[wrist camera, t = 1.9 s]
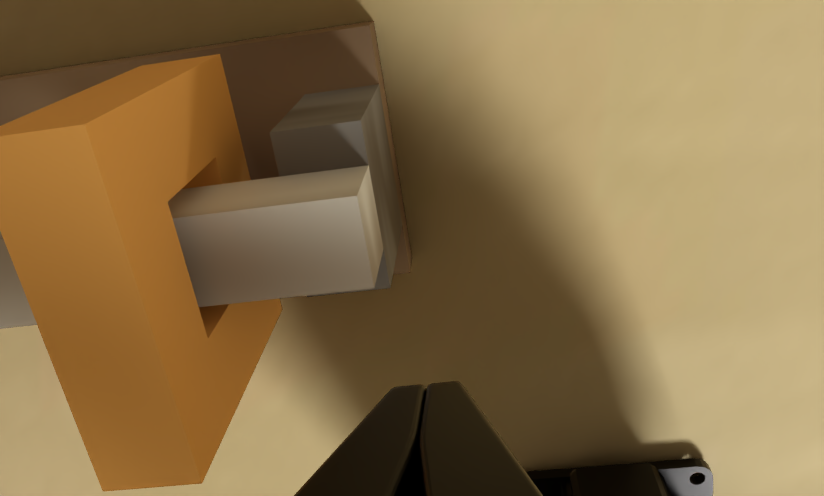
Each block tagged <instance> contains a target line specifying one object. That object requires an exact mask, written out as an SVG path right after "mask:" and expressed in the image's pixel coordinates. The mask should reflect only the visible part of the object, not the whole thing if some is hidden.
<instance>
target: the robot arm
mask: <svg viewBox="0 0 824 496" xmlns="http://www.w3.org/2000/svg"><path fill="white" fill-rule="evenodd" d="M697 472H698V473H700V474H699V475H698V476H694V477H693V476H691V475H692V474H694V473H697ZM294 496H713V475H712V472H711V470H710V468H709V465H708V464H707V463H706V462H705V461H703V460H701V459H681V460H669V461H656V462H643V463H630V464H618V465H605V466H592V467H580V468H567V469H554V470H541V471H529V472H525V470H524V469H523V468H522V466H521V465H520V463H519V462H518V461H517V459H516V458H515V457H514V455H513V454H512V452H511V451H510V450H509V448H508V447H507V445H506V444H505V443H504V441H503V440H502V439H501V437H500V436H499V434H498V433H497V432H496V430H495V429H494V428H493V426H492V425H491V423H490V422H489V421H488V419H487V418H486V417H485V415H484V414H483V412H482V411H481V410H480V408H479V407H478V405H477V404H476V403H475V401H474V400H473V399H472V397H471V396H470V394H469V393H468V392H467V390H466V389H465V388H464V386H463V385H462V384H461V383H460V382H458V381H453V382H442V383H432V384H430V385H429V386H428V387H427V389H426V387H425V386H423V385H411V386H400V387H394V388H392V389H391V390H390V391H389V392H388V393H387V394H386V395H385V396H384V398H383V399H382V400H381V401H380V402H379V403H378V404H377V405H376V406H375V407H374V409H373V410H372V411H371V412H370V413H369V414H368V415H367V416H366V417H365V418H364V420H363V421H362V422H361V423H360V424H359V425H358V426H357V427H356V428H355V429H354V430H353V432H352V433H351V434H350V435H349V436H348V437H347V438H346V439H345V440H344V441H343V443H342V444H341V445H340V446H339V447H338V448H337V449H336V450H335V451H334V452H333V453H332V455H331V456H330V457H329V458H328V459H327V460H326V461H325V462H324V463H323V464H322V466H321V467H320V468H319V469H318V470H317V471H316V472H315V473H314V474H313V475H312V476H311V478H310V479H309V480H308V481H307V482H306V483H305V484H304V485H303V486H302V487H301V489H300V490H299V491H298V492H297V493H296V494H295V495H294Z"/></svg>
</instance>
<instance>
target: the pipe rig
mask: <svg viewBox="0 0 824 496" xmlns="http://www.w3.org/2000/svg"><path fill="white" fill-rule="evenodd" d="M216 54H220V56H221V60H222V64H223V68H224V72H225V76H226V81H227V85H228V89H229V93H230V97H231V101H232V105H233V109H234V113H235V117H236V121H237V126H238V130H239V134H240V138H241V142H242V146H243V150H244V154H245V158H246V162H247V166H248V171H249V175H250V179H251V180H249V181H241V182H233V183H225V184H218V185H210V186H202V187H194V188H186V189H181V190H180V191H179V192H178V193H177V194H176V195H175V196H174V197H172V198H171V199H170V200H169V201H168V205H169V208H170V212H171V215H172V218H173V222H174V225H175V229H176V232H177V235H178V239H179V242H180V246H181V249H182V252H183V256H184V259H185V263H186V266H187V269H188V273H189V276H190V280H191V283H192V286H193V290H194V293H195V297H196V300H197V303H198V307H205V306H215V305H224V304H233V303H242V302H251V301H261V300H270V299H279V298H288V297H298V296H307V297H312V296H321V295H331V294H340V293H349V292H358V291H368V290H377V289H386V288H391V282H392V277H393V274H401V273H410V270H411V263H412V255H411V248H410V242H409V236H408V230H407V224H406V218H405V211H404V205H403V199H402V193H401V187H400V181H399V174H398V168H397V162H396V156H395V150H394V144H393V137H392V131H391V125H390V119H389V113H388V107H387V100H386V94H385V88H384V82H383V76H382V70H381V63H380V57H379V51H378V45H377V39H376V33H375V27H374V21H369V22H362V23H356V24H349V25H342V26H336V27H329V28H322V29H316V30H309V31H302V32H295V33H289V34H282V35H275V36H269V37H262V38H255V39H249V40H242V41H235V42H229V43H222V44H215V45H209V46H202V47H195V48H188V49H182V50H175V51H168V52H162V53H155V54H148V55H142V56H135V57H128V58H122V59H115V60H108V61H102V62H95V63H88V64H81V65H75V66H68V67H61V68H55V69H48V70H41V71H35V72H28V73H21V74H15V75H8V76H1V77H0V126H1V125H4V124H6V123H8V122H11V121H13V120H15V119H18V118H20V117H22V116H25V115H27V114H29V113H32V112H34V111H36V110H39V109H41V108H43V107H46V106H48V105H50V104H53V103H55V102H57V101H60V100H62V99H64V98H67V97H69V96H71V95H74V94H76V93H78V92H81V91H83V90H85V89H88V88H90V87H92V86H95V85H97V84H99V83H102V82H104V81H106V80H109V79H111V78H113V77H116V76H118V75H120V74H123V73H125V72H127V71H130V70H132V69H134V68H137V67H139V66H142V65H148V64H155V63H162V62H169V61H175V60H182V59H189V58H196V57H202V56H209V55H216ZM30 325H37V323H36V320H35V318H34V315H33V313H32V310H31V308H30V305H29V303H28V300H27V297H26V295H25V292H24V290H23V287H22V285H21V282H20V280H19V277H18V275H17V272H16V270H15V267H14V265H13V262H12V259H11V257H10V254H9V252H8V249H7V247H6V244H5V242H4V239H3V237H2V234H1V232H0V329H3V328H12V327H21V326H30Z"/></svg>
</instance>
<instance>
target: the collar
mask: <svg viewBox="0 0 824 496" xmlns="http://www.w3.org/2000/svg"><path fill="white" fill-rule="evenodd" d="M249 180H251V179H250V175H249V171H248V166H247V162H246V158H245V154H244V150H243V146H242V142H241V138H240V134H239V130H238V126H237V121H236V117H235V113H234V109H233V105H232V101H231V97H230V93H229V89H228V85H227V81H226V76H225V72H224V68H223V64H222V60H221V56H220V54H216V55H209V56H202V57H196V58H189V59H182V60H175V61H169V62H162V63H155V64H148V65H142V66H139V67H137V68H134V69H132V70H130V71H127V72H125V73H123V74H120V75H118V76H116V77H113V78H111V79H109V80H106V81H104V82H102V83H99V84H97V85H95V86H92V87H90V88H88V89H85V90H83V91H81V92H78V93H76V94H74V95H71V96H69V97H67V98H64V99H62V100H60V101H57V102H55V103H53V104H50V105H48V106H46V107H43V108H41V109H39V110H36V111H34V112H32V113H29V114H27V115H25V116H22V117H20V118H18V119H15V120H13V121H11V122H8V123H6V124H4V125H1V126H0V232H1V234H2V237H3V239H4V242H5V244H6V247H7V249H8V252H9V254H10V257H11V259H12V262H13V265H14V267H15V270H16V272H17V275H18V277H19V280H20V282H21V285H22V287H23V290H24V292H25V295H26V297H27V300H28V303H29V305H30V308H31V310H32V313H33V315H34V318H35V320H36V323H37V325H38V328H39V330H40V333H41V336H42V338H43V341H44V343H45V346H46V348H47V351H48V353H49V356H50V358H51V361H52V363H53V366H54V368H55V371H56V374H57V376H58V379H59V381H60V384H61V386H62V389H63V391H64V394H65V396H66V399H67V401H68V404H69V406H70V409H71V412H72V414H73V417H74V419H75V422H76V424H77V427H78V429H79V432H80V434H81V437H82V439H83V442H84V445H85V447H86V450H87V452H88V455H89V457H90V460H91V462H92V465H93V467H94V470H95V472H96V475H97V477H98V480H99V483H100V485H101V488H102V490H103V491H114V490H127V489H139V488H151V487H164V486H176V485H189V484H201V483H202V482H203V480H204V478H205V476H206V473H207V471H208V469H209V467H210V465H211V463H212V461H213V458H214V456H215V454H216V452H217V450H218V448H219V445H220V443H221V441H222V439H223V437H224V435H225V432H226V430H227V428H228V426H229V424H230V422H231V419H232V417H233V415H234V413H235V411H236V409H237V407H238V404H239V402H240V400H241V398H242V396H243V394H244V391H245V389H246V387H247V385H248V383H249V381H250V378H251V376H252V374H253V372H254V370H255V368H256V365H257V363H258V361H259V359H260V357H261V355H262V352H263V350H264V348H265V346H266V344H267V342H268V340H269V337H270V335H271V333H272V331H273V329H274V327H275V324H276V322H277V320H278V318H279V316H280V314H281V311H282V305H281V301H280V298H279V299H270V300H261V301H251V302H242V303H233V304H224V305H215V306H205V307H198V303H197V300H196V297H195V293H194V290H193V286H192V283H191V280H190V276H189V273H188V269H187V266H186V263H185V259H184V256H183V252H182V249H181V246H180V242H179V239H178V235H177V232H176V229H175V225H174V222H173V218H172V215H171V212H170V208H169V205H168V201H169V200H170V199H171V198H172V197H174V196H175V195H176V194H177V193H178V192H179V191H180V190H181V189H186V188H194V187H202V186H210V185H218V184H225V183H233V182H241V181H249Z"/></svg>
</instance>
